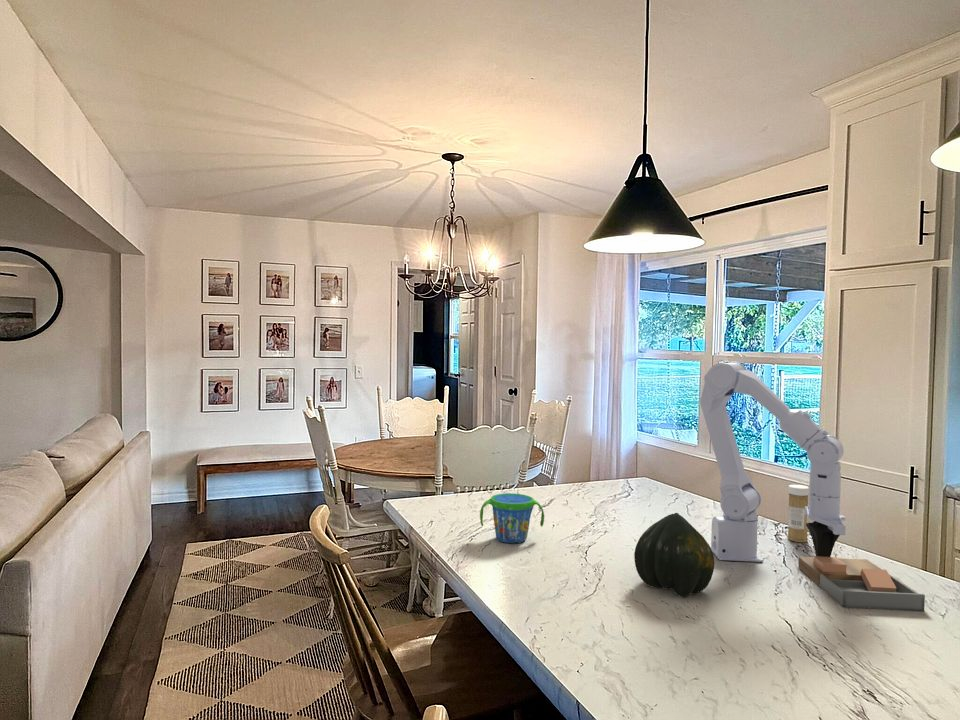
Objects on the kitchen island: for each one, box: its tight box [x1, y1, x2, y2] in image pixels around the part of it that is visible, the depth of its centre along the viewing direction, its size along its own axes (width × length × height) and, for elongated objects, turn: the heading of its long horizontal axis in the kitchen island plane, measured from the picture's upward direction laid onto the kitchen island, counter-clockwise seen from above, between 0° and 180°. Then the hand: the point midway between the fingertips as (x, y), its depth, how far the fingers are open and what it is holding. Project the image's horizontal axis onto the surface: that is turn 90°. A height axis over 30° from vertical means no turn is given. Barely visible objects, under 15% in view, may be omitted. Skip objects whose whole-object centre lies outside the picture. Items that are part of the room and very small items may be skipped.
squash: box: [633, 512, 715, 598], centre depth 124 cm, size 14×15×15 cm
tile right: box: [860, 568, 897, 593], centre depth 123 cm, size 4×4×2 cm
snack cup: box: [479, 492, 545, 544], centre depth 153 cm, size 16×10×10 cm
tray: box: [819, 574, 926, 612], centre depth 120 cm, size 14×10×3 cm
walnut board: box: [798, 556, 893, 586], centre depth 131 cm, size 14×10×2 cm
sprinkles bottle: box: [787, 484, 809, 544], centre depth 155 cm, size 5×5×14 cm
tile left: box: [812, 555, 847, 573], centre depth 130 cm, size 4×4×2 cm
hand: (822, 558), depth 133 cm, fingers closed
